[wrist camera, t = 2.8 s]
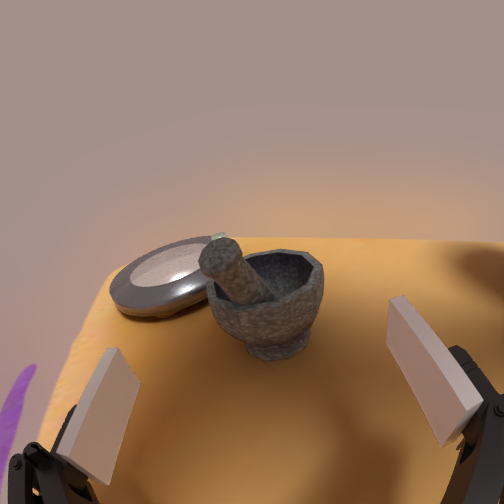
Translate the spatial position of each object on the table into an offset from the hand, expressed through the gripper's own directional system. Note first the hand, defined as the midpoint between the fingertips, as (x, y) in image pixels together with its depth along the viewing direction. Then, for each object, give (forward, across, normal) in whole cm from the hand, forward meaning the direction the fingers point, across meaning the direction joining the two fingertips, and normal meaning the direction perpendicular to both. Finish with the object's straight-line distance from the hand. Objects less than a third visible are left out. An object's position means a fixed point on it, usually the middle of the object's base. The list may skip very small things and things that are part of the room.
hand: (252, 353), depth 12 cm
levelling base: (+26, -12, -9) cm, 30 cm away
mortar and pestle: (+10, 0, -9) cm, 13 cm away
